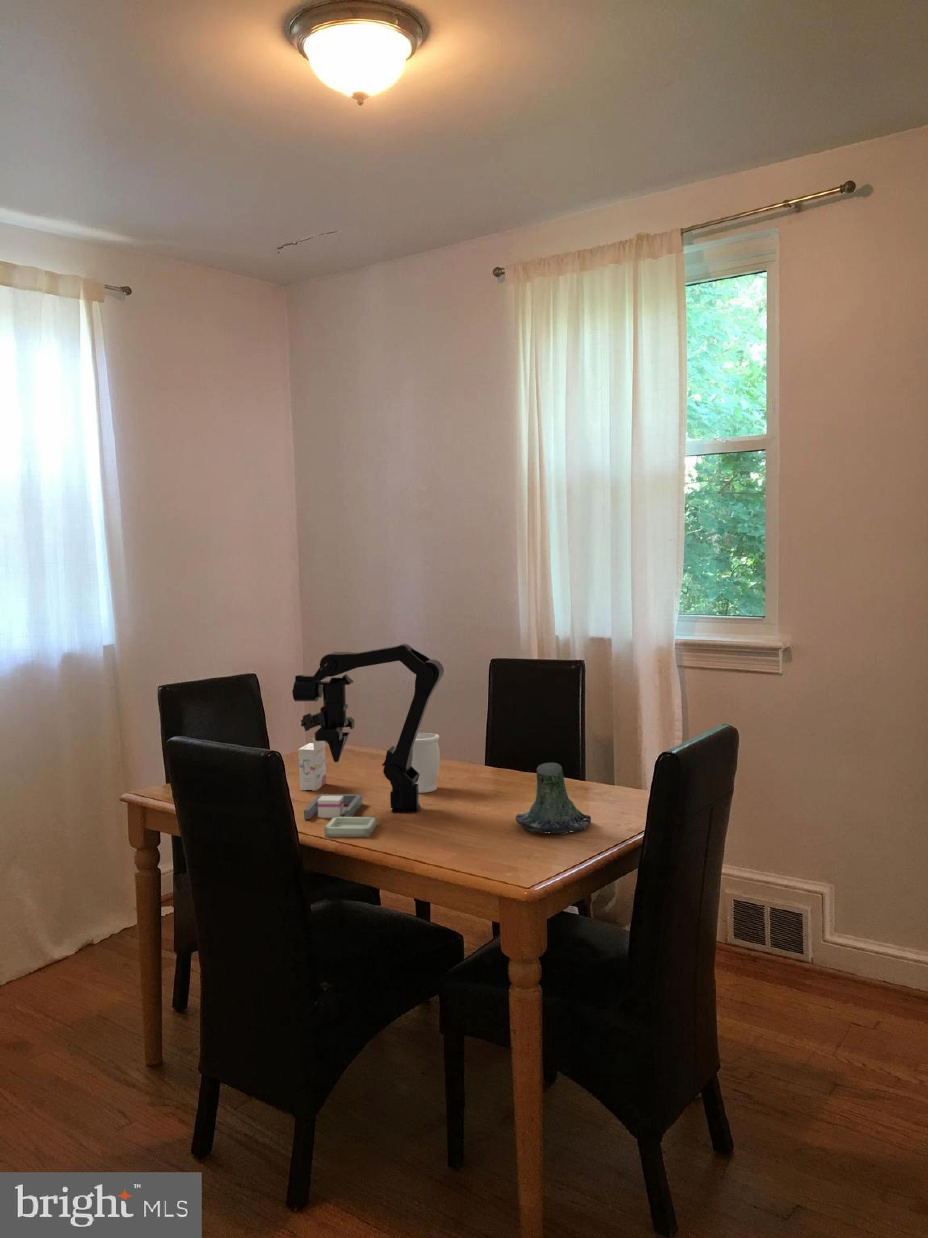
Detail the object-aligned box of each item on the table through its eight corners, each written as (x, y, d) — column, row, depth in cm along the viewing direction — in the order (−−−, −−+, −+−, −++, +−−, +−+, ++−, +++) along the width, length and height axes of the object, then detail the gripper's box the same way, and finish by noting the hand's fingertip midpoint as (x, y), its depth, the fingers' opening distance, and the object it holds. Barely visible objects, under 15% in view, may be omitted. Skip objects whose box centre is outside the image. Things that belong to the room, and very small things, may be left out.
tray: (376, 825, 235) (376, 817, 235) (368, 837, 226) (368, 828, 225) (334, 824, 236) (333, 816, 236) (324, 836, 227) (324, 828, 226)
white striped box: (344, 813, 246) (343, 795, 246) (339, 818, 242) (339, 800, 242) (322, 813, 247) (321, 795, 247) (318, 818, 243) (317, 800, 242)
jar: (398, 794, 264) (396, 739, 263) (406, 784, 274) (405, 732, 273) (436, 795, 262) (435, 740, 261) (443, 785, 272) (442, 732, 271)
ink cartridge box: (310, 783, 278) (308, 732, 277) (326, 783, 277) (325, 732, 276) (299, 790, 270) (297, 738, 269) (316, 791, 269) (314, 738, 268)
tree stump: (598, 818, 240) (598, 752, 234) (583, 862, 222) (583, 792, 216) (526, 809, 245) (524, 744, 239) (505, 852, 227) (503, 783, 221)
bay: (362, 804, 254) (362, 794, 254) (349, 820, 239) (349, 810, 239) (319, 803, 256) (319, 794, 255) (304, 820, 241) (303, 810, 240)
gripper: (313, 696, 259) (314, 753, 261) (293, 707, 241) (295, 770, 242) (354, 695, 258) (355, 754, 259) (337, 707, 240) (339, 770, 241)
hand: (336, 761), depth 250 cm, fingers closed
